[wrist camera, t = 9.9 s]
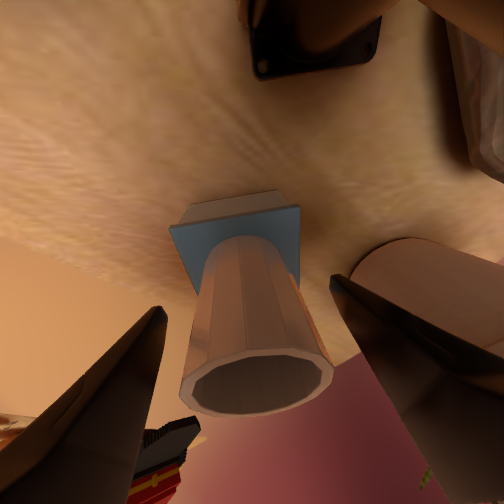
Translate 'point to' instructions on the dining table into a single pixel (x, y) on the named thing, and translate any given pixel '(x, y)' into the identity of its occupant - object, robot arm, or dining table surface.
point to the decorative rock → (480, 100)
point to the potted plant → (440, 291)
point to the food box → (237, 229)
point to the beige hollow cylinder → (251, 336)
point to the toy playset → (162, 462)
